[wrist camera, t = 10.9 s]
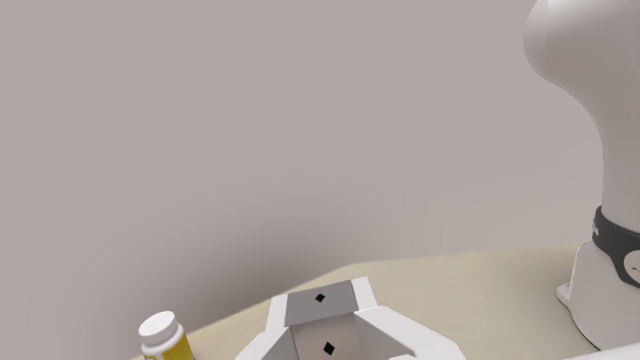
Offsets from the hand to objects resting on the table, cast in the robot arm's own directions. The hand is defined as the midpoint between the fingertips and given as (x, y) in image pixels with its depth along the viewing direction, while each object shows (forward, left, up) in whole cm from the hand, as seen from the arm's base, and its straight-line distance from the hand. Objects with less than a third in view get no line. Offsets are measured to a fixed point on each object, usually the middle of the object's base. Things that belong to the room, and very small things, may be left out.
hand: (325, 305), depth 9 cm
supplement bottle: (+9, -30, -25) cm, 41 cm away
